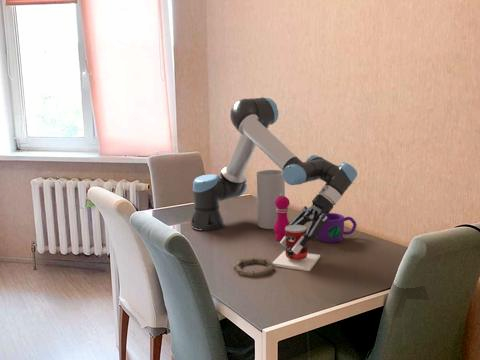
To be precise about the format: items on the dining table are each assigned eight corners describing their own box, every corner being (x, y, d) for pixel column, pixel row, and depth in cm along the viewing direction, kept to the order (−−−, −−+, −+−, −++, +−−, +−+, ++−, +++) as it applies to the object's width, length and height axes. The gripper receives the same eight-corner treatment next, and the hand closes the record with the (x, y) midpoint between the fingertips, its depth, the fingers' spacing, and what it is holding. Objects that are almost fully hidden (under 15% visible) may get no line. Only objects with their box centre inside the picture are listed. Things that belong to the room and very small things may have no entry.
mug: (321, 245, 189) (322, 221, 187) (312, 236, 200) (312, 213, 198) (362, 241, 192) (362, 217, 190) (350, 232, 203) (350, 210, 201)
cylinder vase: (254, 228, 213) (252, 174, 208) (263, 220, 224) (262, 169, 219) (280, 231, 208) (279, 175, 203) (288, 223, 220) (287, 170, 214)
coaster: (271, 265, 169) (271, 263, 169) (284, 252, 182) (284, 250, 181) (309, 271, 163) (309, 268, 163) (320, 257, 176) (320, 254, 176)
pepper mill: (290, 242, 193) (290, 195, 189) (272, 241, 195) (272, 194, 191) (292, 236, 200) (291, 191, 196) (275, 236, 202) (274, 190, 198)
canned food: (283, 253, 176) (283, 225, 173) (304, 252, 176) (304, 223, 174) (287, 260, 168) (287, 231, 166) (309, 259, 169) (309, 230, 167)
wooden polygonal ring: (228, 273, 164) (228, 269, 163) (244, 260, 175) (244, 256, 175) (264, 278, 158) (264, 274, 158) (277, 264, 170) (277, 260, 170)
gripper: (305, 188, 181) (268, 234, 178) (336, 199, 162) (296, 251, 159) (316, 199, 184) (281, 245, 181) (348, 212, 165) (309, 263, 162)
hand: (288, 248), depth 170 cm, fingers closed on canned food, 8 cm apart
